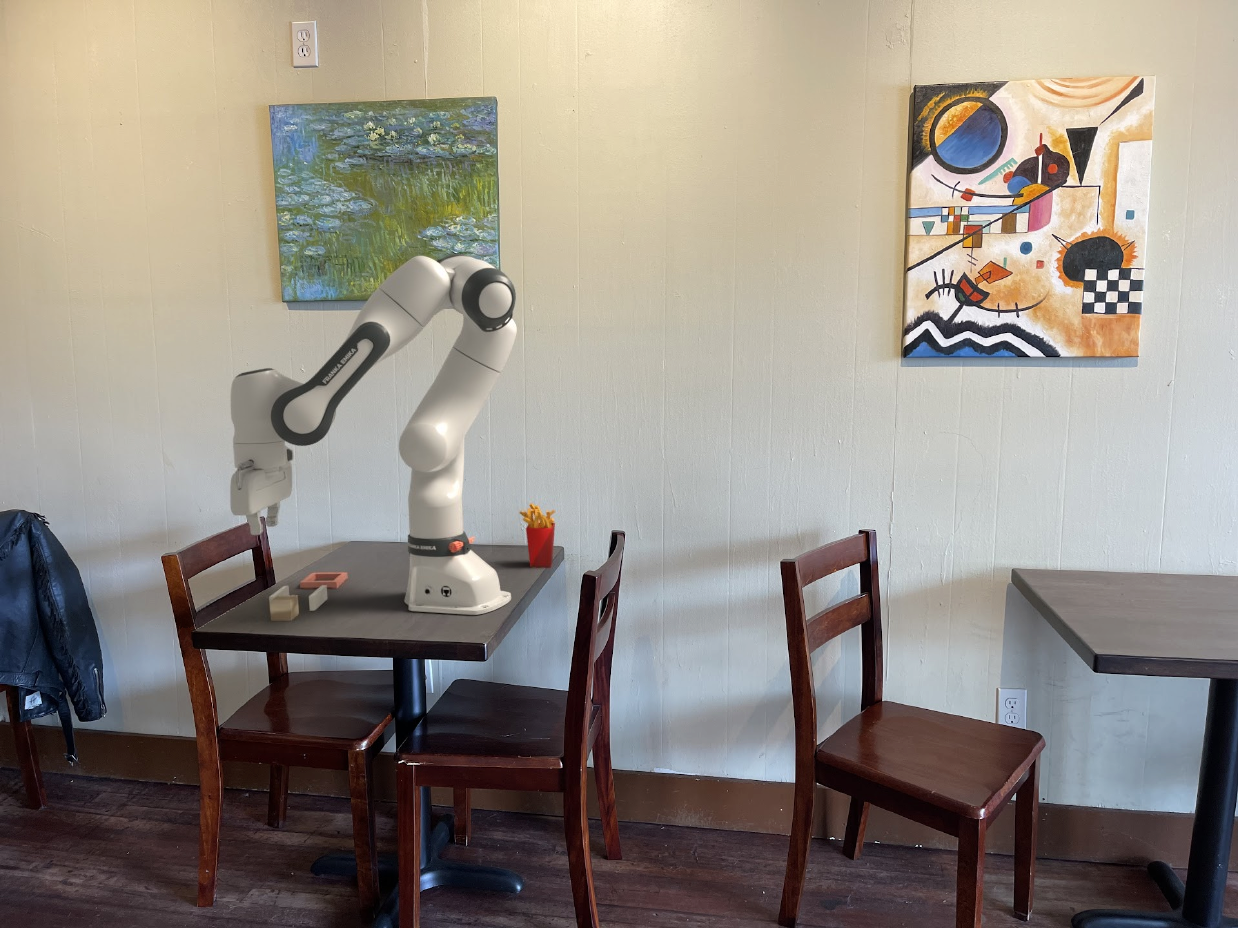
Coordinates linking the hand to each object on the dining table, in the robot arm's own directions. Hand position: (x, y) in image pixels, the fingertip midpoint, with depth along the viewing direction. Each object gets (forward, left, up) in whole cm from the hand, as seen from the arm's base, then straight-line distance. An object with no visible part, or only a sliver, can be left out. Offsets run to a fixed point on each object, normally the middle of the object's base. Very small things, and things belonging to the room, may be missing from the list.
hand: (264, 530), depth 160 cm
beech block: (+3, -6, -19) cm, 20 cm away
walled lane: (+6, -14, -19) cm, 24 cm away
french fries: (-24, -60, -19) cm, 68 cm away
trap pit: (+13, -28, -19) cm, 36 cm away
